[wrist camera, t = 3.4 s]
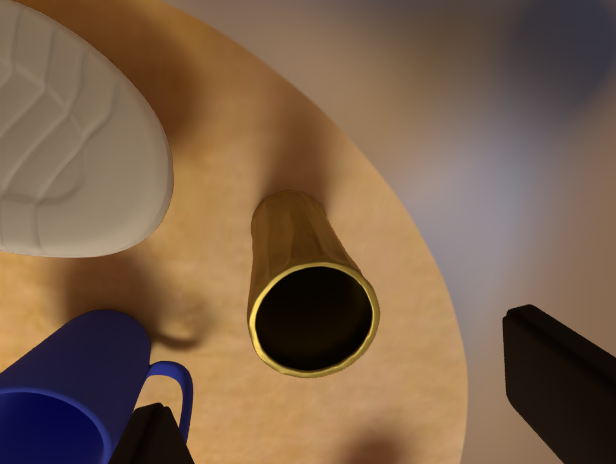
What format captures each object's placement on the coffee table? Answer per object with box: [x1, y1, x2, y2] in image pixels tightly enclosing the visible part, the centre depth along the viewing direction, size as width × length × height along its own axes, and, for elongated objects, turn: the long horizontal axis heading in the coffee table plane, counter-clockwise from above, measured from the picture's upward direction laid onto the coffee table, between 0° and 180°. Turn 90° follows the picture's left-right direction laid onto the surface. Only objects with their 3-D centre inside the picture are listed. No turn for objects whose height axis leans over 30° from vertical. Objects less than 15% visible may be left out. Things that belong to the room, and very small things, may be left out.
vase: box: [247, 191, 380, 378], centre depth 19 cm, size 6×6×14 cm
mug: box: [0, 310, 193, 464], centre depth 23 cm, size 8×12×10 cm
